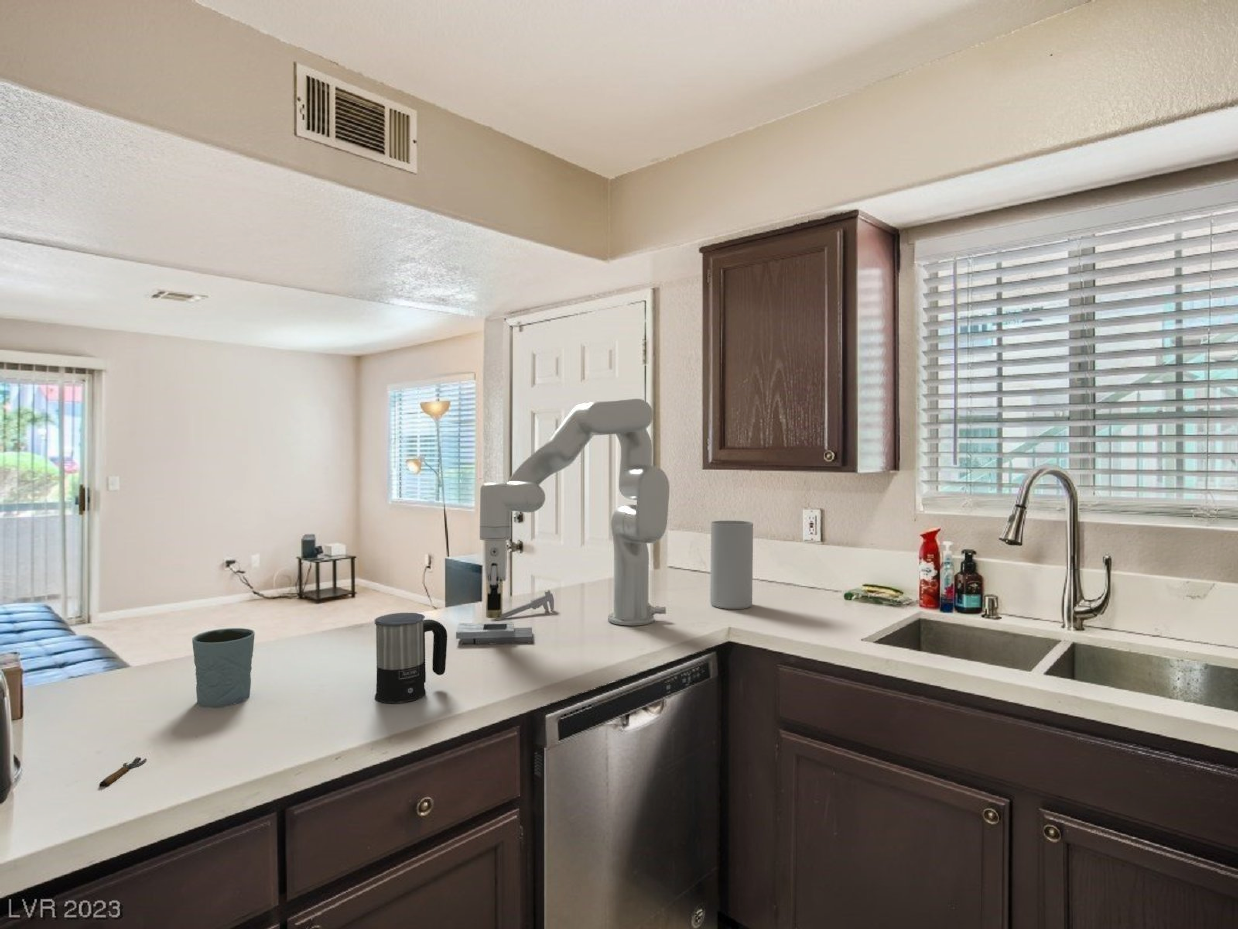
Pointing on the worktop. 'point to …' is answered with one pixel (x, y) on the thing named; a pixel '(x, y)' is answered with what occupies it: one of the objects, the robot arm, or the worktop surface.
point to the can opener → (121, 772)
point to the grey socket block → (493, 633)
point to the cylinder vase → (731, 564)
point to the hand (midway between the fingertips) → (494, 607)
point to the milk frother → (406, 655)
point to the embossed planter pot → (223, 666)
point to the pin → (498, 612)
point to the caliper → (531, 605)
